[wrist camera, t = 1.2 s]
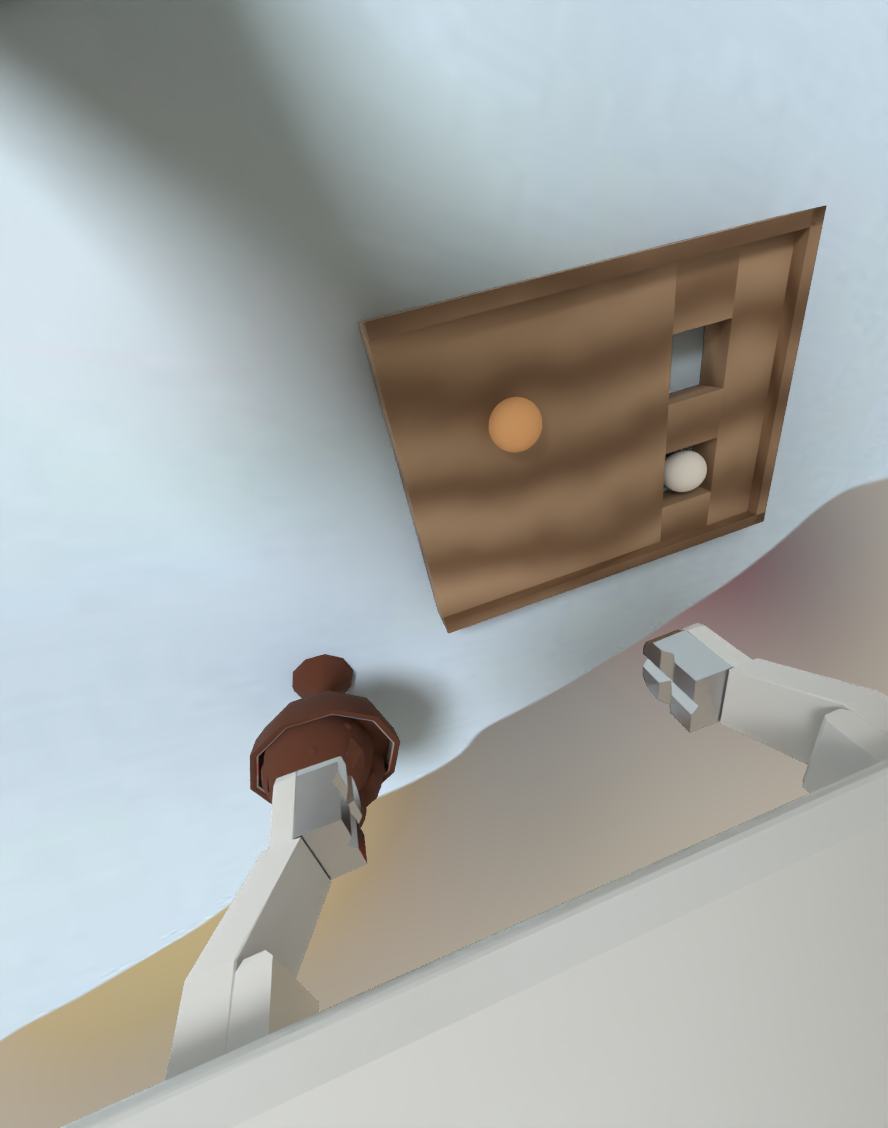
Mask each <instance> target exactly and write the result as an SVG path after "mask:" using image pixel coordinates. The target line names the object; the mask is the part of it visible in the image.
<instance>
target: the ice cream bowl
mask: <svg viewBox="0 0 888 1128" xmlns="http://www.w3.org/2000/svg"><path fill="white" fill-rule="evenodd" d="M352 671H353V670H352V668H351V667H350V666H349V665H348V664H347V663H346V661H345V660H344V659H343V658H339V657H334V656H330V655H326V654H324V655H321V656H317V657H313V658H310V659H306V660H305V661H304V662H303V663H302V664H301V665H300V666H299V667H298V668H297V669H296V670H295V671H294V672H293V686H292V687H293V689H294V691H295V692H296V693H297V694H298V695H299V696H300V697H301V698H302V699H299V700H296V701H293V702H291V703H289V704H288V705H287V706H286V707H285V708H284V709H283V710H282V711H281V712H280V713H279V714H278V715H277V716H276V717H275V718H274V719H273V720H272V721H271V722H270V723H269V724H268V725H267V726H266V727H265V729H264V730H263V731H262V733H261V734H260V735H259V737H258V738H257V739H256V741H255V744H254V747H253V749H252V752H251V755H250V788H251V790H252V791H254V792H255V793H257V794H258V795H259V796H261V797H262V798H264V799H265V800H267V801H268V802H269V803H271V804H272V798H273V786H274V783H275V781H276V778H279V777H282V776H284V775H287V774H290V773H293V772H296V771H298V770H301V769H304V768H307V767H310V766H313V765H316V764H319V763H322V762H324V761H327V760H330V759H333V758H336V757H340V756H341V757H342V759H343V761H344V763H345V764H346V772H347V775H350V776H352V778H353V780H354V782H355V785H356V787H357V790H358V794H359V798H360V803H361V810H362V818H361V820H360V822H359V826H360V828H361V826H362V824H363V822H364V820H365V816H366V807H367V806H368V805H369V804H370V803H371V802H372V801H374V800H375V799H376V798H377V796H378V793H379V791H380V788H381V784H382V783H383V782H384V781H385V780H386V779H387V778H388V777H389V776H390V775H391V774H393V773H394V771H395V766H396V760H397V755H398V750H399V745H400V740H399V738H398V736H397V734H396V732H395V730H394V728H393V727H392V726H391V725H390V724H389V722H388V721H387V720H386V719H385V718H384V717H383V716H382V714H381V713H380V712H379V711H378V710H377V709H376V708H375V707H374V705H373V704H372V703H371V702H370V701H369V700H368V699H367V698H365V697H359V696H354V695H349V694H344V693H345V692H346V691H347V690H348V689H349V688H350V686H351V680H352Z"/></svg>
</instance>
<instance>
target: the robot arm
mask: <svg viewBox="0 0 888 1128" xmlns="http://www.w3.org/2000/svg"><path fill="white" fill-rule="evenodd" d="M643 654H644V655H645V656H646V657H647V658H648V659H647V660H646V662H645V663H644V665H643V677H644V680H645V682H646V685H647V687H648V688H649V690H650V691H651V693H652V694H653V695H654V696H655V697H656V698H657V699H658V700H659V701H662V702H665V703H667V704H670V713H671V714H672V715H673V716H674V717H675V718H676V719H677V720H678V721H679V722H680V723H681V724H682V725H683V726H684V727H685V728H686V730H688V732H689V733H690V732H693V731H696V730H698V729H701V728H704V727H706V726H709V725H711V724H714V723H717V722H720V724H723V725H725V726H727V727H729V728H731V729H733V730H735V731H737V732H740V733H742V734H744V735H746V736H748V737H750V738H752V739H755V740H756V741H759V742H761V743H763V744H765V745H767V746H769V747H771V748H773V749H775V750H778V751H780V752H782V753H784V754H786V755H788V756H790V757H792V758H795V759H797V760H799V761H801V762H803V763H805V764H807V765H808V766H807V769H806V772H805V774H804V778H803V788H805V789H806V790H807V791H808V792H809V794H807V795H805V796H802V797H800V798H798V799H796V800H793V801H791V802H789V803H787V804H784V805H782V806H780V807H778V808H775V809H773V810H771V811H769V812H766V813H764V814H762V815H760V816H758V817H755V818H753V819H751V820H749V821H746V822H744V823H742V824H739V825H737V826H735V827H733V828H730V829H728V830H726V831H724V832H722V833H719V834H717V835H715V836H713V837H710V838H708V839H706V840H703V841H701V842H699V843H697V844H695V845H692V846H690V847H688V848H686V849H683V850H681V851H679V852H677V853H674V854H672V855H670V856H668V857H665V858H663V859H661V860H659V861H656V862H654V863H652V864H650V865H647V866H645V867H643V868H641V869H639V870H636V871H634V872H632V873H630V874H627V875H625V876H623V877H620V878H618V879H616V880H614V881H611V882H609V883H607V884H605V885H602V886H600V887H598V888H596V889H594V890H591V891H589V892H587V893H585V894H582V895H580V896H578V897H576V898H573V899H571V900H569V901H567V902H564V903H562V904H560V905H558V906H555V907H553V908H551V909H549V910H546V911H544V912H542V913H540V914H538V915H535V916H533V917H531V918H529V919H526V920H524V921H522V922H520V923H517V924H515V925H513V926H511V927H508V928H506V929H504V930H502V931H500V932H497V933H495V934H493V935H490V936H488V937H486V938H484V939H481V940H479V941H477V942H475V943H472V944H470V945H468V946H466V947H463V948H461V949H459V950H457V951H455V952H452V953H450V954H448V955H446V956H443V957H441V958H439V959H437V960H434V961H432V962H430V963H428V964H425V965H423V966H421V967H419V968H417V969H414V970H412V971H410V972H407V973H405V974H403V975H401V976H399V977H396V978H394V979H392V980H389V981H387V982H385V983H383V984H381V985H378V986H376V987H374V988H372V989H369V990H367V991H365V992H363V993H360V994H358V995H356V996H354V997H351V998H349V999H347V1000H345V1001H342V1002H340V1003H338V1004H336V1005H333V1006H331V1007H329V1008H327V1009H325V1010H322V1011H320V1012H319V1001H318V1000H317V999H316V998H315V997H314V996H313V995H312V994H311V993H310V992H309V991H308V990H307V989H306V988H305V987H304V986H303V985H302V984H301V983H300V982H299V981H298V980H297V979H296V977H297V974H298V972H299V969H300V966H301V964H302V961H303V958H304V955H305V953H306V950H307V947H308V945H309V942H310V939H311V937H312V933H313V931H314V928H315V926H316V923H317V920H318V918H319V915H320V912H321V910H322V907H323V904H324V902H325V899H326V896H327V893H328V891H329V888H330V885H331V881H330V880H332V879H334V878H336V877H339V876H341V875H343V874H345V873H348V872H350V871H352V870H355V869H357V868H359V867H361V866H364V865H366V864H367V856H366V846H365V837H364V833H363V831H362V829H361V828H360V826H359V822H360V820H361V818H362V810H361V803H360V798H359V794H358V790H357V787H356V785H355V782H354V780H353V778H352V776H350V775H347V772H346V764H345V763H344V761H343V759H342V757H341V756H340V757H336V758H333V759H330V760H327V761H324V762H322V763H319V764H316V765H313V766H310V767H307V768H304V769H301V770H298V771H296V772H293V773H290V774H287V775H284V776H282V777H279V778H276V781H275V783H274V786H273V798H272V810H271V822H270V834H269V846H268V850H265V851H263V852H261V854H260V856H259V857H258V859H257V861H256V862H255V864H254V866H253V867H252V869H251V871H250V872H249V874H248V876H247V878H246V879H245V881H244V883H243V884H242V886H241V888H240V889H239V891H238V893H237V894H236V896H235V898H234V899H233V901H232V903H231V904H230V906H229V908H228V909H227V912H226V913H225V915H224V916H223V918H222V920H221V921H220V923H219V925H218V926H217V928H216V930H215V931H214V933H213V935H212V936H211V938H210V940H209V942H208V943H207V945H206V947H205V948H204V950H203V952H202V953H201V955H200V957H199V958H198V960H197V962H196V963H195V965H194V967H193V968H192V970H191V972H190V974H189V975H188V977H187V979H186V980H185V983H184V988H183V993H182V998H181V1004H180V1009H179V1013H178V1018H177V1023H176V1029H175V1034H174V1039H173V1044H172V1049H171V1054H170V1059H169V1064H168V1069H167V1074H166V1079H165V1081H163V1082H161V1083H159V1084H156V1085H154V1086H152V1087H150V1088H148V1089H146V1090H143V1091H141V1092H139V1093H137V1094H134V1095H132V1096H130V1097H127V1098H126V1099H123V1100H121V1101H119V1102H116V1103H114V1104H112V1105H110V1106H107V1107H105V1108H103V1109H100V1110H98V1111H96V1112H94V1113H91V1114H89V1115H87V1116H85V1117H82V1118H80V1119H78V1120H76V1121H74V1122H71V1123H69V1124H67V1125H65V1126H62V1127H60V1128H888V697H887V696H886V695H884V694H882V693H881V692H879V691H876V690H873V689H869V688H865V687H862V686H858V685H854V684H851V683H847V682H843V681H839V680H836V679H832V678H829V677H825V676H821V675H817V674H814V673H810V672H806V671H803V670H799V669H795V668H792V667H788V666H784V665H780V664H777V663H773V662H770V661H766V660H762V659H759V658H757V659H754V660H752V659H750V658H749V657H747V656H746V655H745V654H743V653H742V652H741V651H739V650H738V649H737V648H735V647H734V646H732V645H731V644H729V643H728V642H727V641H725V640H724V639H723V638H721V637H720V636H719V635H717V634H716V633H715V632H713V631H712V630H710V629H709V628H708V627H706V626H705V625H703V624H700V623H695V624H693V625H690V626H687V627H685V628H682V629H680V630H676V631H673V632H671V633H668V634H665V635H663V636H660V637H658V638H655V639H653V640H650V641H647V642H646V643H645V645H644V648H643Z"/></svg>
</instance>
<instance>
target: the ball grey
mask: <svg viewBox="0 0 888 1128" xmlns="http://www.w3.org/2000/svg"><path fill="white" fill-rule="evenodd" d="M706 473H707V465H706V462H705V460H704V458H703V457H702V456H701V455H699V454H698V453H696V452H694V451H690V450H683V451H678V452H675V453H673V454H671V455H670V456H669V457H668V458H667V459H666V460H665V471H664V485H665V486H666V487H667V488H669V489H671V490H673V491H676V492H687V491H690V490H693V489H695V488H696V487H698V486H699V485H700V484H701V483H702V482H703V480H704V479H705V476H706Z"/></svg>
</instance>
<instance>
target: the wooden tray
mask: <svg viewBox="0 0 888 1128" xmlns="http://www.w3.org/2000/svg"><path fill="white" fill-rule="evenodd" d="M825 210H826V206H822V207H817V208H813V209H808V210H804V211H799V212H795V213H790V214H786V215H781V216H777V217H773V218H769V219H765V220H761V221H757V222H753V223H749V224H745V225H741V226H738V227H734V228H730V229H726V230H722V231H718V232H714V233H710V234H706V235H702V236H698V237H694V238H690V239H686V240H682V241H678V242H674V243H670V244H666V245H662V246H658V247H654V248H650V249H646V250H642V251H639V252H635V253H631V254H627V255H623V256H619V257H615V258H611V259H607V260H603V261H599V262H595V263H591V264H587V265H583V266H579V267H575V268H571V269H567V270H563V271H559V272H555V273H551V274H547V275H543V276H539V277H536V278H532V279H528V280H524V281H520V282H516V283H512V284H508V285H504V286H500V287H496V288H492V289H488V290H484V291H480V292H476V293H472V294H468V295H464V296H460V297H456V298H452V299H448V300H444V301H440V302H437V303H433V304H429V305H425V306H421V307H417V308H413V309H409V310H405V311H401V312H397V313H393V314H389V315H385V316H381V317H377V318H373V319H369V320H365V321H361V322H358V323H359V327H360V331H361V334H362V338H363V342H364V345H365V349H366V352H367V356H368V360H369V363H370V367H371V371H372V374H373V378H374V381H375V385H376V389H377V392H378V396H379V400H380V403H381V407H382V410H383V414H384V418H385V421H386V425H387V429H388V432H389V436H390V439H391V443H392V447H393V450H394V454H395V458H396V461H397V465H398V468H399V472H400V476H401V479H402V483H403V487H404V490H405V494H406V497H407V501H408V505H409V508H410V512H411V516H412V519H413V523H414V526H415V530H416V534H417V537H418V541H419V545H420V548H421V552H422V555H423V559H424V563H425V566H426V570H427V573H428V577H429V581H430V584H431V588H432V592H433V595H434V599H435V602H436V606H437V610H438V612H439V615H440V617H441V619H442V621H443V623H444V625H445V627H446V630H447V632H448V633H451V632H454V631H457V630H460V629H462V628H465V627H468V626H471V625H474V624H476V623H479V622H482V621H485V620H488V619H491V618H493V617H496V616H499V615H502V614H505V613H507V612H510V611H513V610H516V609H519V608H521V607H524V606H527V605H530V604H533V603H535V602H538V601H541V600H544V599H547V598H549V597H552V596H555V595H558V594H561V593H563V592H566V591H569V590H572V589H575V588H577V587H580V586H583V585H586V584H589V583H591V582H594V581H597V580H600V579H603V578H606V577H608V576H611V575H614V574H617V573H620V572H622V571H625V570H628V569H631V568H634V567H636V566H639V565H642V564H645V563H648V562H650V561H653V560H656V559H659V558H662V557H664V556H667V555H670V554H673V553H676V552H678V551H681V550H684V549H687V548H690V547H692V546H695V545H698V544H701V543H704V542H706V541H709V540H712V539H715V538H718V537H721V536H723V535H726V534H729V533H732V532H735V531H737V530H740V529H743V528H746V527H749V526H751V525H754V524H757V523H760V522H763V521H764V516H765V511H766V506H767V501H768V496H769V491H770V486H771V481H772V476H773V471H774V466H775V461H776V456H777V451H778V446H779V441H780V436H781V431H782V426H783V421H784V416H785V410H786V405H787V400H788V395H789V390H790V385H791V380H792V375H793V370H794V365H795V360H796V355H797V350H798V345H799V340H800V335H801V330H802V325H803V320H804V315H805V310H806V305H807V300H808V295H809V290H810V285H811V280H812V275H813V270H814V265H815V260H816V255H817V250H818V245H819V240H820V235H821V230H822V225H823V220H824V215H825ZM702 326H705V333H704V343H703V354H702V364H701V375H700V385H696V386H693V387H690V388H686V389H683V390H680V391H677V392H673V393H670V394H669V390H670V373H671V357H672V341H673V334H677V333H681V332H684V331H688V330H691V329H695V328H698V327H702ZM511 397H523V398H526V399H528V400H530V401H531V402H533V403H534V404H535V405H536V406H537V408H538V409H539V411H540V413H541V416H542V431H541V434H540V436H539V438H538V440H537V441H536V442H535V443H534V444H533V445H532V446H531V447H530V448H528V449H527V450H524V451H522V452H516V453H513V452H507V451H504V450H502V449H500V448H499V447H498V446H497V445H496V444H495V443H494V442H493V440H492V439H491V436H490V433H489V419H490V416H491V413H492V411H493V410H494V408H495V407H496V406H497V405H498V404H499V403H500V402H502V401H503V400H505V399H508V398H511ZM692 445H694V448H693V451H694V452H696V453H698V454H699V455H701V456H702V457H703V458H704V460H705V462H706V465H707V473H706V476H705V479H704V480H703V482H702V483H701V484H700V485H699V486H698V487H696V488H695V489H693V490H690V491H687V492H676V491H673V490H668V491H665V492H663V488H664V471H665V455H666V454H668V453H671V452H674V451H677V450H680V449H683V448H686V447H689V446H692Z"/></svg>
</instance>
